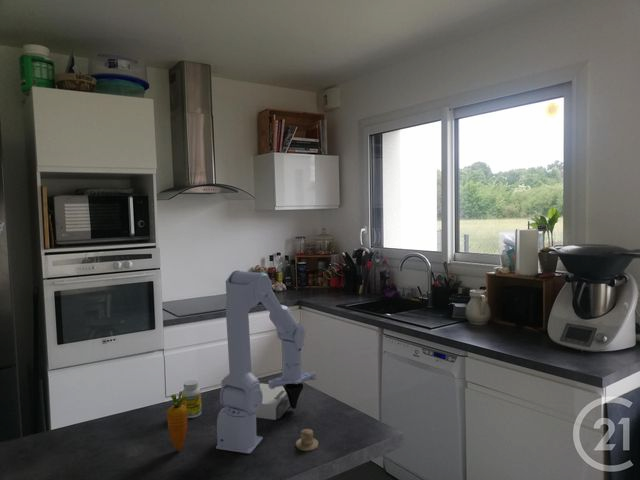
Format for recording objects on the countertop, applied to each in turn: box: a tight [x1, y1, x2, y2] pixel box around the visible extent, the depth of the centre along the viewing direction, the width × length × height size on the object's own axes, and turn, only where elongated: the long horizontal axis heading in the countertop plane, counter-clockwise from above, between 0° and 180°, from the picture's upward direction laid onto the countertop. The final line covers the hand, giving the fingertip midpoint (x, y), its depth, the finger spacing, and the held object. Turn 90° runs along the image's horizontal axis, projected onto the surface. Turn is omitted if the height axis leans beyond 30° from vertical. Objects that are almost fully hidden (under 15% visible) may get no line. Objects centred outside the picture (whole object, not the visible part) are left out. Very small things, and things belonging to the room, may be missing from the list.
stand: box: [295, 428, 319, 452], centre depth 119 cm, size 6×6×4 cm
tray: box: [276, 396, 291, 420], centre depth 142 cm, size 13×13×3 cm
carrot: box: [166, 390, 189, 452], centre depth 117 cm, size 5×5×15 cm
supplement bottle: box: [181, 379, 203, 419], centre depth 138 cm, size 5×5×10 cm
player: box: [256, 382, 287, 421], centre depth 142 cm, size 14×14×4 cm
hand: (293, 407), depth 139 cm, fingers closed, pressing on tray
